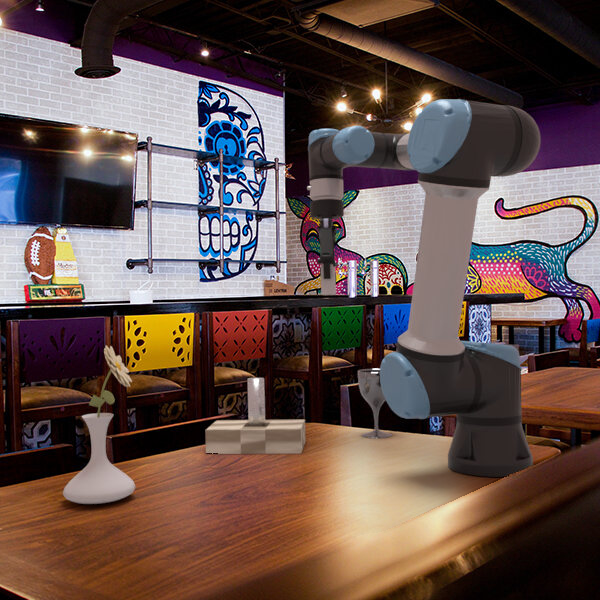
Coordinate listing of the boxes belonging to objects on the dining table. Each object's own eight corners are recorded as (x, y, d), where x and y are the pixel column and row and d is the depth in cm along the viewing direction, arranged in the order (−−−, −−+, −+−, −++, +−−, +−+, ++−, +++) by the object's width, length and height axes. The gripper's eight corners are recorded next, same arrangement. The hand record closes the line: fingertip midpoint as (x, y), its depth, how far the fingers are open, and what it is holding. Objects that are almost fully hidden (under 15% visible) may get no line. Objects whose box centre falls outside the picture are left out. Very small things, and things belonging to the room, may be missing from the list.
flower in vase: (108, 512, 108) (104, 349, 108) (47, 507, 112) (43, 349, 112) (154, 490, 121) (150, 343, 121) (98, 486, 125) (94, 343, 125)
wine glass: (353, 437, 163) (352, 371, 163) (367, 431, 170) (365, 368, 170) (386, 439, 159) (384, 372, 159) (398, 433, 166) (397, 369, 166)
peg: (264, 449, 152) (262, 379, 152) (248, 449, 152) (246, 379, 152) (266, 445, 155) (265, 377, 155) (250, 446, 156) (248, 377, 156)
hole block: (301, 453, 147) (300, 429, 147) (205, 454, 149) (205, 430, 149) (305, 441, 159) (304, 419, 159) (217, 442, 161) (216, 420, 161)
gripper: (313, 207, 172) (315, 295, 172) (305, 192, 147) (308, 294, 147) (344, 206, 172) (346, 294, 172) (342, 191, 147) (344, 294, 147)
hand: (328, 294), depth 159 cm, fingers open, 13 cm apart
